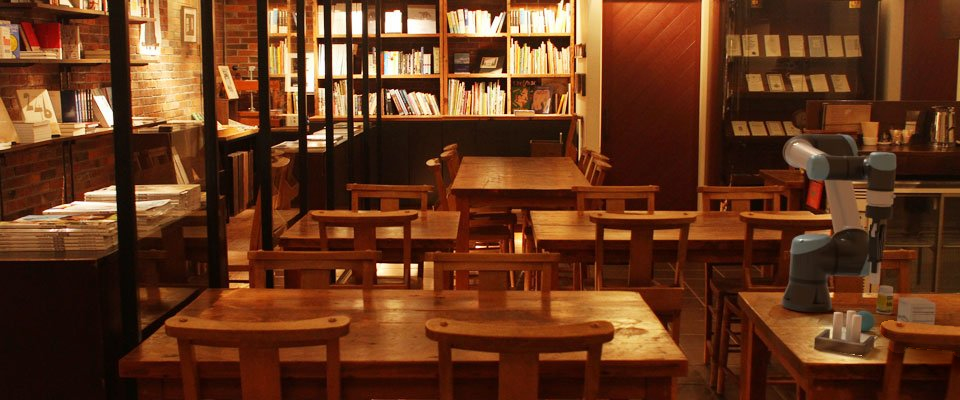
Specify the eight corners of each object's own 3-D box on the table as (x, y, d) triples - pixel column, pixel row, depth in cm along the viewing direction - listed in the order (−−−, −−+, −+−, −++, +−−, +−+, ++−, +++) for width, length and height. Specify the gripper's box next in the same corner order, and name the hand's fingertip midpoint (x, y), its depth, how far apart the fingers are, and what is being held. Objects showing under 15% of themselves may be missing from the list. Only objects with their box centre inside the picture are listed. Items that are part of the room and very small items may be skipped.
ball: (849, 331, 301) (851, 311, 300) (855, 327, 306) (856, 307, 305) (871, 334, 298) (872, 314, 297) (876, 330, 303) (877, 310, 302)
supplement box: (894, 340, 292) (897, 296, 290) (919, 340, 293) (923, 296, 291) (907, 347, 285) (911, 303, 283) (933, 347, 285) (936, 303, 284)
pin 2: (849, 348, 283) (851, 316, 282) (851, 346, 285) (853, 314, 284) (858, 349, 282) (860, 317, 281) (860, 347, 284) (862, 315, 283)
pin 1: (830, 345, 286) (832, 313, 285) (833, 343, 288) (835, 311, 287) (839, 346, 285) (841, 314, 283) (841, 344, 287) (844, 312, 285)
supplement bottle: (887, 315, 322) (889, 288, 321) (873, 312, 325) (875, 286, 324) (895, 313, 325) (897, 287, 324) (881, 310, 328) (883, 284, 327)
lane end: (814, 348, 282) (814, 337, 282) (825, 339, 292) (826, 328, 292) (863, 356, 275) (864, 345, 275) (873, 346, 285) (874, 336, 285)
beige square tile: (833, 338, 293) (833, 337, 293) (842, 331, 301) (842, 330, 301) (869, 344, 287) (869, 343, 287) (877, 336, 296) (878, 336, 296)
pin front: (844, 343, 288) (846, 311, 287) (846, 341, 290) (848, 310, 289) (852, 344, 287) (855, 312, 286) (855, 342, 289) (857, 311, 288)
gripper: (888, 208, 297) (882, 288, 300) (897, 203, 308) (891, 281, 311) (860, 205, 301) (855, 285, 304) (871, 201, 312) (866, 278, 315)
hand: (874, 283), depth 308 cm, fingers closed
